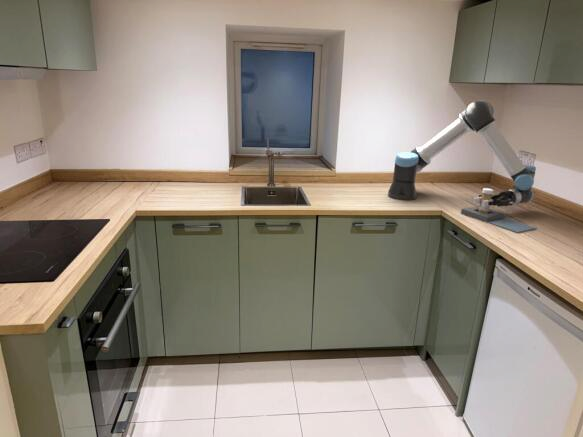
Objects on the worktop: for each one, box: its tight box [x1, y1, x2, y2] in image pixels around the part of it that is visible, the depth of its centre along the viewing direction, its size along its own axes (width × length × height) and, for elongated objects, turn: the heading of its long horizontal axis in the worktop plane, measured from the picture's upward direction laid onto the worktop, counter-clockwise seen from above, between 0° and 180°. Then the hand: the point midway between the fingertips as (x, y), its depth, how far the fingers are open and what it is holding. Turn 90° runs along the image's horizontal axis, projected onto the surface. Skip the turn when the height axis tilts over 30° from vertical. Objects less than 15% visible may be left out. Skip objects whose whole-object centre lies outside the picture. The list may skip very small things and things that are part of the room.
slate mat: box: [487, 218, 537, 234], centre depth 184 cm, size 14×14×1 cm
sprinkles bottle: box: [479, 187, 494, 214], centre depth 194 cm, size 5×5×14 cm
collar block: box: [460, 205, 507, 223], centre depth 196 cm, size 14×14×2 cm
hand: (478, 202), depth 191 cm, fingers closed on sprinkles bottle, 4 cm apart
